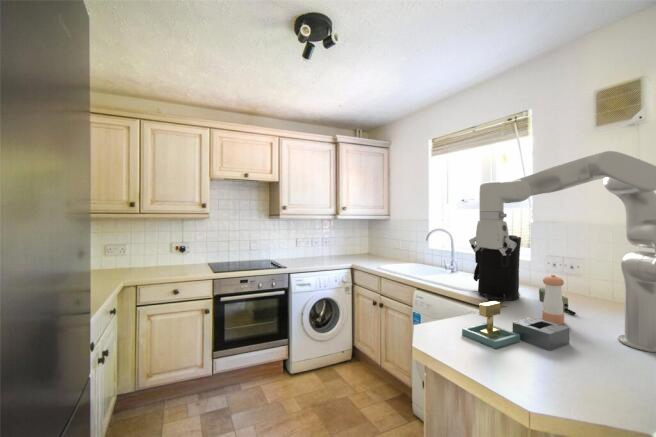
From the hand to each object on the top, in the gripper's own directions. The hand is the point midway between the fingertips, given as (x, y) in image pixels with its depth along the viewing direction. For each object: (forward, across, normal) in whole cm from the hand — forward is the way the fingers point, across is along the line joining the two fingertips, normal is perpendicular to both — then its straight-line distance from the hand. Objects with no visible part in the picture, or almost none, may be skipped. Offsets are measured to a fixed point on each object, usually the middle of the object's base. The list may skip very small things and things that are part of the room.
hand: (491, 264), depth 107 cm
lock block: (+26, -9, -13) cm, 31 cm away
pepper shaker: (+27, 0, -39) cm, 48 cm away
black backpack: (+27, +38, -56) cm, 72 cm away
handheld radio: (+27, +10, -62) cm, 68 cm away
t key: (+26, 0, +1) cm, 26 cm away
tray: (+26, 0, +1) cm, 26 cm away
